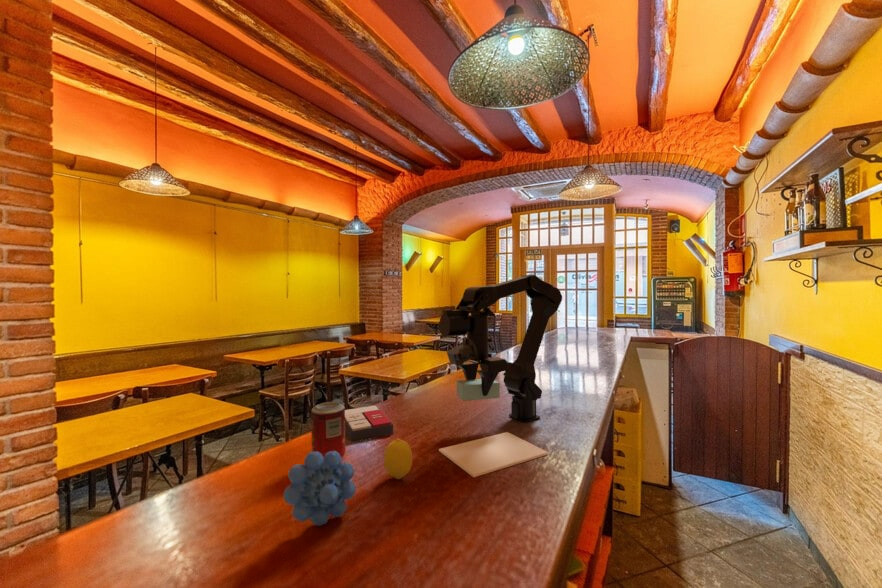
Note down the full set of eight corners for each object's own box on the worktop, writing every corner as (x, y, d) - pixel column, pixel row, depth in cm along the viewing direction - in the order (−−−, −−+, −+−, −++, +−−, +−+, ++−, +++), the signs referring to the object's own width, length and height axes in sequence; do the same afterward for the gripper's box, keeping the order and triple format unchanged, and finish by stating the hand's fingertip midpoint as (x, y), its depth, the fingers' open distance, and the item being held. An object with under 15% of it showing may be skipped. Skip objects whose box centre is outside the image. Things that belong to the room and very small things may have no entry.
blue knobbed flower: (294, 555, 53) (292, 470, 53) (279, 532, 59) (277, 455, 58) (368, 522, 61) (366, 447, 61) (348, 504, 66) (347, 435, 66)
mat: (507, 433, 97) (507, 431, 97) (547, 454, 85) (547, 452, 85) (438, 451, 87) (438, 449, 87) (473, 477, 75) (473, 474, 75)
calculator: (351, 429, 93) (338, 408, 106) (351, 446, 93) (338, 424, 106) (393, 421, 98) (376, 403, 111) (393, 437, 98) (376, 417, 111)
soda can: (352, 459, 83) (351, 404, 83) (323, 472, 78) (322, 412, 77) (333, 451, 88) (332, 398, 87) (305, 462, 82) (304, 406, 82)
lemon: (417, 474, 76) (416, 434, 76) (405, 488, 71) (405, 445, 71) (392, 470, 78) (391, 431, 78) (379, 483, 73) (378, 442, 73)
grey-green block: (491, 392, 105) (491, 378, 105) (499, 397, 100) (499, 382, 99) (456, 395, 102) (456, 380, 102) (463, 401, 97) (463, 385, 97)
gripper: (434, 332, 105) (434, 389, 105) (472, 340, 88) (472, 407, 89) (467, 330, 110) (468, 383, 110) (509, 337, 94) (509, 399, 94)
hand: (477, 392), depth 101 cm, fingers closed on grey-green block, 6 cm apart
